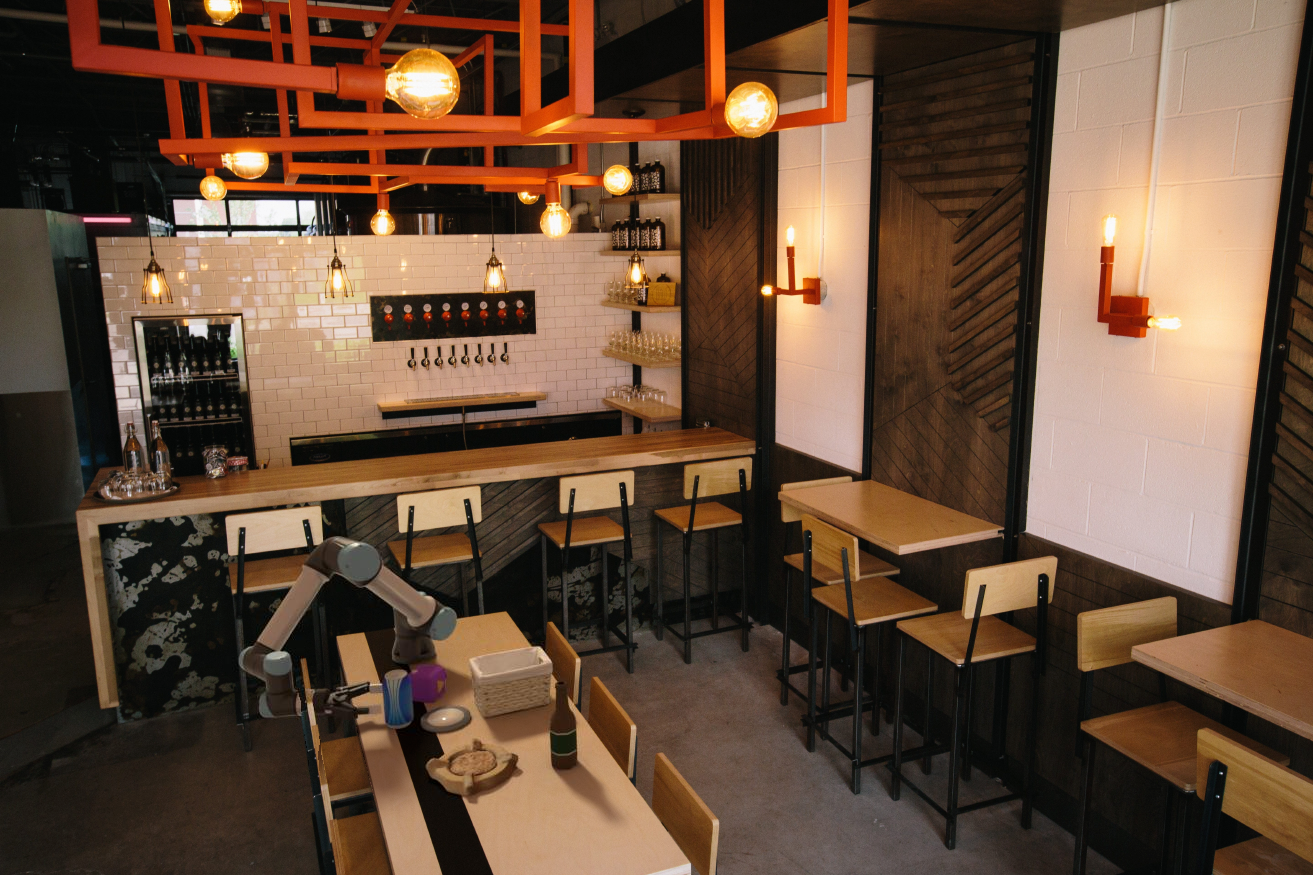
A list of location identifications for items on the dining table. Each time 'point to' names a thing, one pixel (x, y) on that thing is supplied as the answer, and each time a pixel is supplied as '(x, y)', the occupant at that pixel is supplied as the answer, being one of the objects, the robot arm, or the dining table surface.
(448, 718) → the coaster plate
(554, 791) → the dining table surface
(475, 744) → the ashtray
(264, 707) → the robot arm
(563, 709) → the beer bottle
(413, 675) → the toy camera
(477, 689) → the storage basket
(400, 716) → the beer can
